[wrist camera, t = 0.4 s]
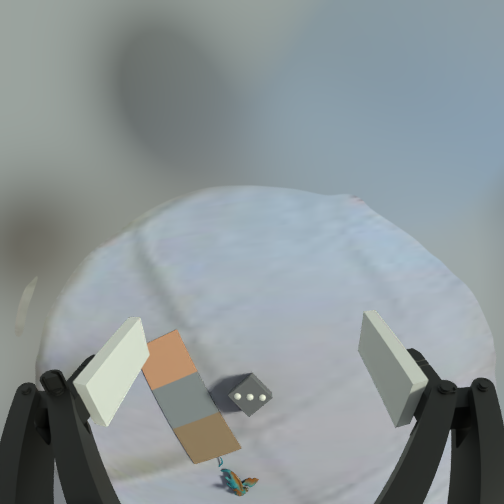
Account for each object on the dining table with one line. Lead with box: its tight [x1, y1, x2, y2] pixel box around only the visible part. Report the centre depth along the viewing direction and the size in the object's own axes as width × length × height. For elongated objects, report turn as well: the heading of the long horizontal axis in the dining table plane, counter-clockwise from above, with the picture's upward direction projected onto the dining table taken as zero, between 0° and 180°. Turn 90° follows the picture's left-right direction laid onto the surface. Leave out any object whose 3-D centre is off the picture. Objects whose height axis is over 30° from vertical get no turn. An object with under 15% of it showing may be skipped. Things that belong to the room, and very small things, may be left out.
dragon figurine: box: [219, 457, 259, 496], centre depth 38 cm, size 6×7×8 cm
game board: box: [142, 330, 241, 464], centre depth 44 cm, size 26×10×1 cm, turn 28°
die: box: [228, 373, 272, 417], centre depth 42 cm, size 5×5×5 cm
